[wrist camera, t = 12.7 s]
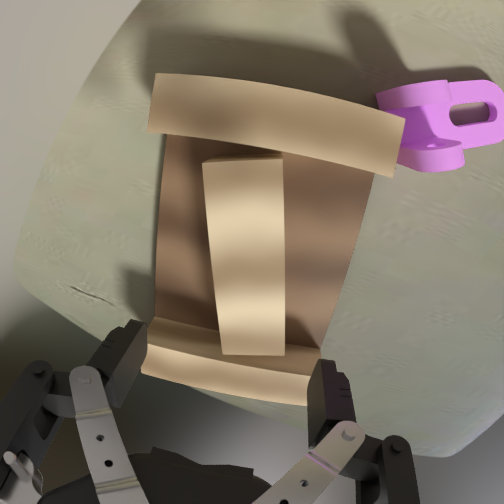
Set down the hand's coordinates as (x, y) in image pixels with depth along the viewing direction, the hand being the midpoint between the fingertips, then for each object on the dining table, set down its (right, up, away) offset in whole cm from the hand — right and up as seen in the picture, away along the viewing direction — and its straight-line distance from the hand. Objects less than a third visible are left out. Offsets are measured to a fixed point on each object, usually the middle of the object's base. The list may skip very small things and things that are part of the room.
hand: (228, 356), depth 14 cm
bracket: (+18, +16, +7) cm, 25 cm away
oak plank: (+1, +5, +12) cm, 13 cm away
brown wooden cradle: (+1, +5, +13) cm, 14 cm away
